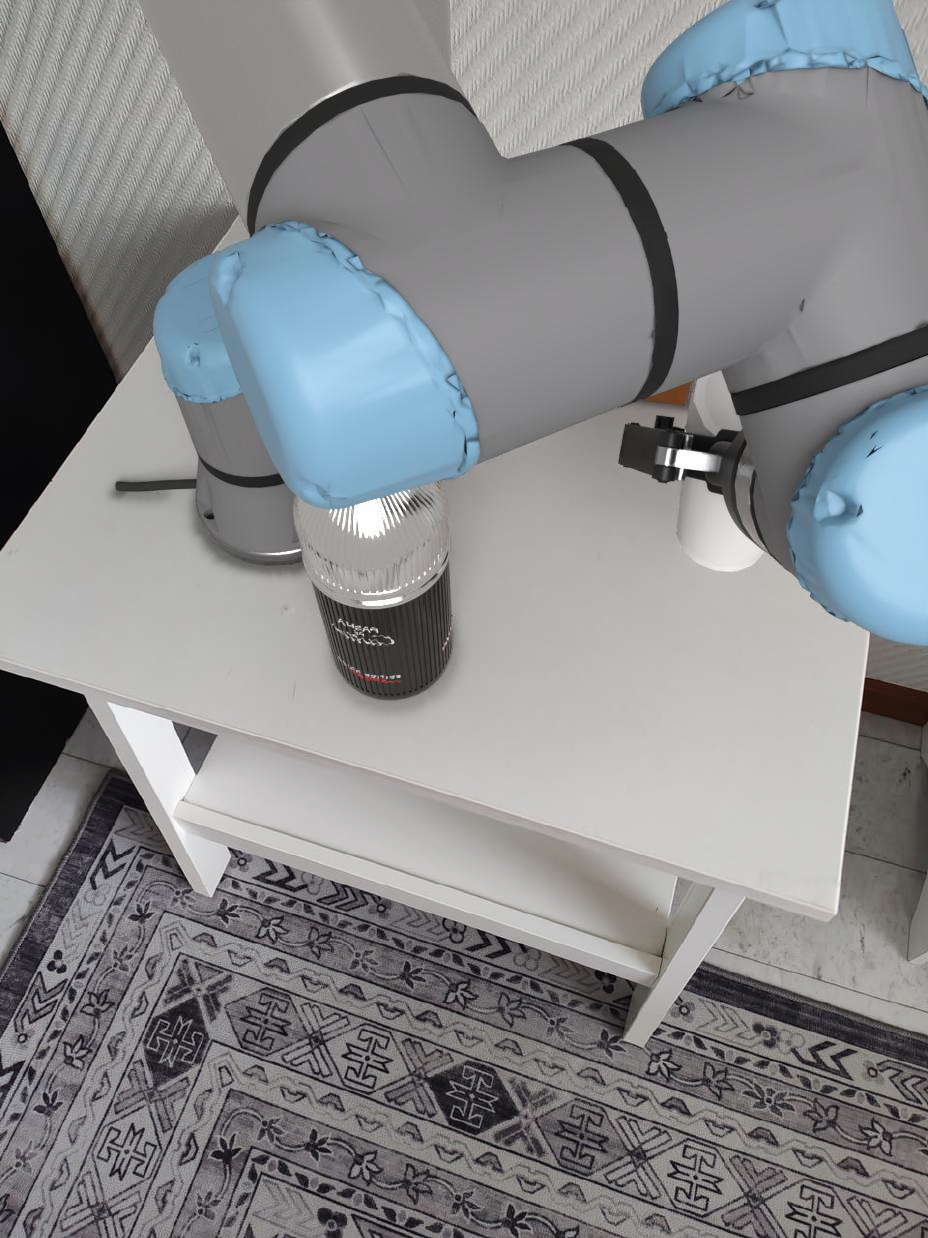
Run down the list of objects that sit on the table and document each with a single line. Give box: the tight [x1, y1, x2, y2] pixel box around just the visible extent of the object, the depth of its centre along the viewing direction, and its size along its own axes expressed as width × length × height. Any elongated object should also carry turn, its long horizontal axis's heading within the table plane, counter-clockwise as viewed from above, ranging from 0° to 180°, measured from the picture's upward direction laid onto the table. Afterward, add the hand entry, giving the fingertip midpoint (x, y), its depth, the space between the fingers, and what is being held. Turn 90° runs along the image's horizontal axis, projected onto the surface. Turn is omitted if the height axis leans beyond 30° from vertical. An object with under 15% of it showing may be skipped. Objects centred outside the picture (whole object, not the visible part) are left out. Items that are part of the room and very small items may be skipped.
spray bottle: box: [293, 480, 454, 702], centre depth 63 cm, size 10×10×25 cm
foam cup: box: [676, 370, 766, 573], centre depth 57 cm, size 10×9×13 cm
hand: (740, 456), depth 60 cm, fingers closed on foam cup, 9 cm apart
